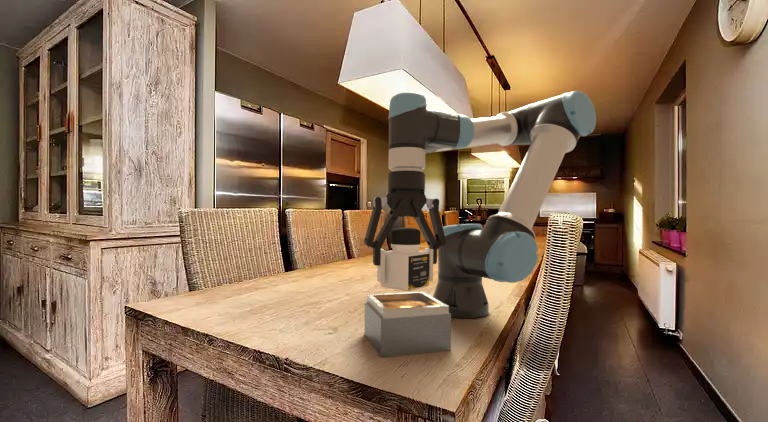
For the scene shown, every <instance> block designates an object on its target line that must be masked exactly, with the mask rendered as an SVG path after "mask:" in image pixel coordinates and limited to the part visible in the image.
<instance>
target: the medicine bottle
mask: <svg viewBox="0 0 768 422" xmlns="http://www.w3.org/2000/svg"><path fill="white" fill-rule="evenodd" d="M421 233H422V232H421V230H420V229H418V228H414V227H395V228H392V229H391V230H390V248H392V249H391V250H385V283H380V284H381V287H383V288H387V289H393V290H397V291H398V290H399V291H404V292H411V291H412V292H413V291H415V290H420V289H423V288H427V287H429V286H430V281H429V252H426V251H425V250H420V248H421V246H422V245H421V244H422V243H421V242H422V241H421V238H422V237H421V236H422V234H421Z"/></svg>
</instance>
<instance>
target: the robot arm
mask: <svg viewBox="0 0 768 422" xmlns="http://www.w3.org/2000/svg"><path fill="white" fill-rule="evenodd" d="M427 105H428V104H427V98H426V96H424V94H421V93H419V92H414V91H407V92H406V91H405V92H399V93H397V94H395V95H393V96H392V97H391V98H390V100H389V111H388V117H387V119H388V167H387V168H388V169H389V173H387V174H388V175H387V176H388V177H387V179H388V180H387V195H386V196H385V197H381V196H376V197H373V198H372V212H371V215H370V219H369V222H368V226H367V229H366V233H365V237H364V240H363V244H364V246H366V247H370V248H372V264H373V266H377V267H376V268H377V270H376V271H377V273H376V275H377V278H376V279H377V282H378V283H380V284H381V283H385V251H386V250H385V249H383V248H382V246H383V245H384V243H385V242H386V240H387V238H388V236H389V234H390V233H391V231H392V230H393V227H394V225H395V223H396V221H398V219H399V218H405V217H409V218H413V220H414V221H415V223H417V226H418V228H419V230H420V232H421V233H422V234H421V235H422V236H423V238H424V240H425V242H426V244H427V246H428V247H424V251H426V252H429V282H434V265H437V284H436V286H435V289H434V292H433V296H432V297H434V298H435V299H437V300H439V301H441V302H442V303H444V304H446V305H448V306H449V313H451V318H454V319H455V318H456V319H475V318H482V317H485V316H488V315H489V311H490V308H489V302H488V298H487V294H486V292H485V288H484V285H483V279H484V278H485V279H489V280H493V281H495V282H499V283H509V284H511V283H512V284H514V283H519V282H522V281H523V280H525V279H527V278H528V277H529V276H530V275H531V274H532V272H533V271H534V270H535V268H536V266H537V263H538V259H539V254H538V253H537V252H538V251H539V246H538V243H537V241H536V233H535V232H534V230H533V226H534V224H535V222H536V220H537V218H538V215H539V213H540V211H541V209H542V206H543V204H544V201H545V199H546V198H547V196H548V193H549V191H550V188H551V186H552V185H553V182H554V179H555V177H556V175H557V173H558V171H559V167H560V166H561V164H562V161H563V159H564V157H565V154H567V153H570V152H572V151H573V150H574V149H575V147H576V146H577V143H578V141H579V139H580V137H587V136H588V135H590V134H592V133H593V132H594V131H595V129H596V126H597V125H596V123H597V118H596V117H597V116H596V110H595V106H594V103H593V101H592V100H591V99H590V97H589V96H588V94H587V93H585V92H583V91H581V90H573V91H569V92H568V91H566V92H563V93H562V94H560V95H556V96H552V97H549V98H546V99H542V100H539V101H537V102H532V103H529V104H527V105H524V106H522V107H519V108H515V109H513V110H510V111H502V112H500V113H498V114H497V115H496V116H490V117H489V116H488V117H477V118H471V117H469V116H468V115H464V114H461V113H459V112H456V113H455V112H450V111H445V110H438V109H432V108H429V107H427ZM495 144H497V145H499V146H500V147H501V146H502V147H507V146H516V145H517V146H520V145H522V146H526V145H527V146H529V147H528V148H527V149H528V150H527V152H526V153H525V156H524V158H523V160H522V161H521V164H520V166H519V168H518V171H517V172H516V174H515V177H514V179H513V181H512V184H511V186H510V187H509V189H508V191H507V193H506V196H505V198H504V200H503V202H502V204H501V206H500V208H499V209H498V212H497V213H496V214H492V215H490V216H488V218H487V220H486V222H485V224H484V227H483V225H482V224H481V223H465V224H464V223H461V224H452V225H451V224H450V225H444V226H443V223H442V219H441V214H440V211H439V210H440V199H439V198H429V197H427V196H426V191H425V190H426V173H425V172H424V171H425V169H426V154H432V153H437V152H447V151H452V150H463V149H466V148H474V147H480V146H481V147H482V146H488V145H495ZM385 204H387V206H388V208H389V209H390V211H389V213H388V214H387V217H386V219H385V220H384V222H383V224H382V227H381V228H380V229H379V232H378V234H377V236H376V232H377V229H378V226H379V221H380V218H381V214H382V211H383V210H382V209H383V208H384V207H385ZM425 205H426V207H427V209H428V212H429V219H430V222H431V227H432V229H431V228H430V226H429V224H428V221H427V219H426V216H425V214H424V212H423V210H422V209H423V208H424V206H425ZM432 230H433V232H432ZM375 237H376V238H375Z"/></svg>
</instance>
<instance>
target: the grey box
mask: <svg viewBox="0 0 768 422" xmlns="http://www.w3.org/2000/svg"><path fill="white" fill-rule="evenodd" d="M364 336H365V337H366V339H367V340H368V342H369V343H370V345H371V346H372V348H373V349H374V350H375V352H376V353H377V354H378V356H379V357H380V358H387V357H388V358H390V357H396V356H408V355H415V354H427V353H436V352H446V351H451V349H452V347H451V345H452V344H451V341H452V338H451V337H452V317H451V313H449V306H448V305H446V304H444V303H442V302H441V301H439V300H437V299H435V298H434V297H433V296H432V295H430V294H429V293H426V292H424V291H412V292H411V291H405V292H392V293H391V292H390V293H375V294H371V293H370V294H367V295H366V301H364Z"/></svg>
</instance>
